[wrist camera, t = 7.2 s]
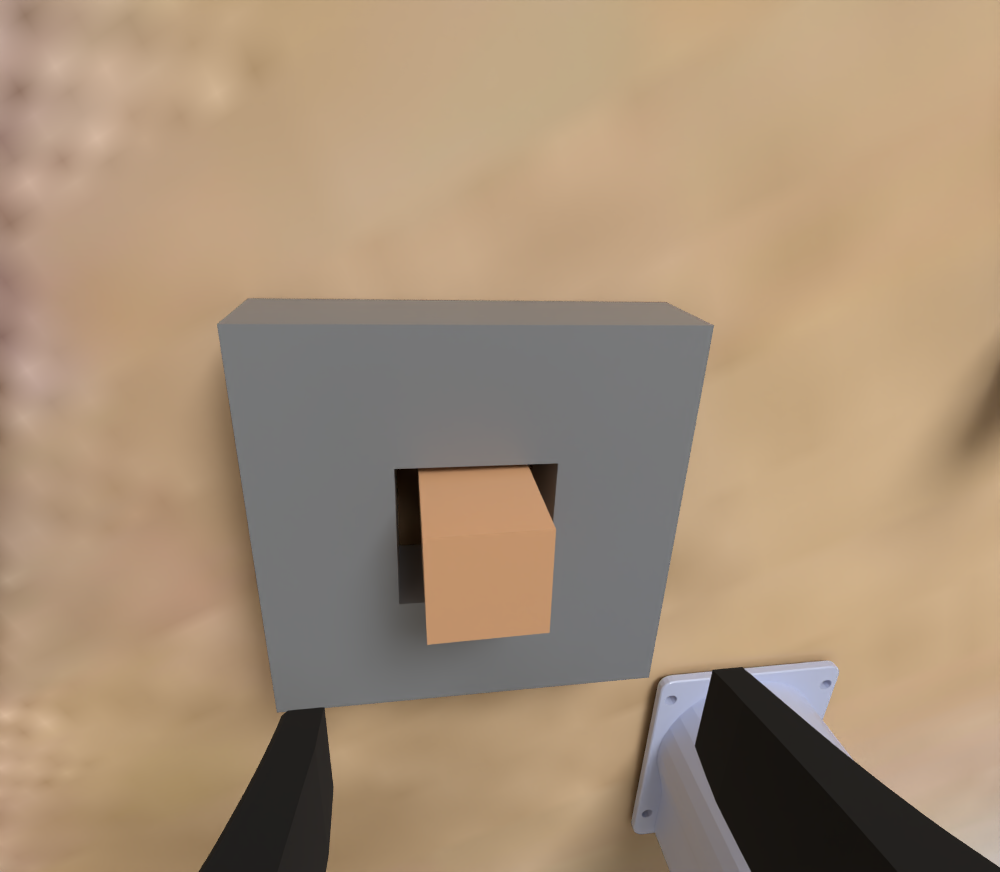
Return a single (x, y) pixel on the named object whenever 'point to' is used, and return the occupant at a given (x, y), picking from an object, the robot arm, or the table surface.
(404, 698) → the socket block
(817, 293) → the table surface
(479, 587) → the plug peg
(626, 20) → the table surface
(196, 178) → the table surface
